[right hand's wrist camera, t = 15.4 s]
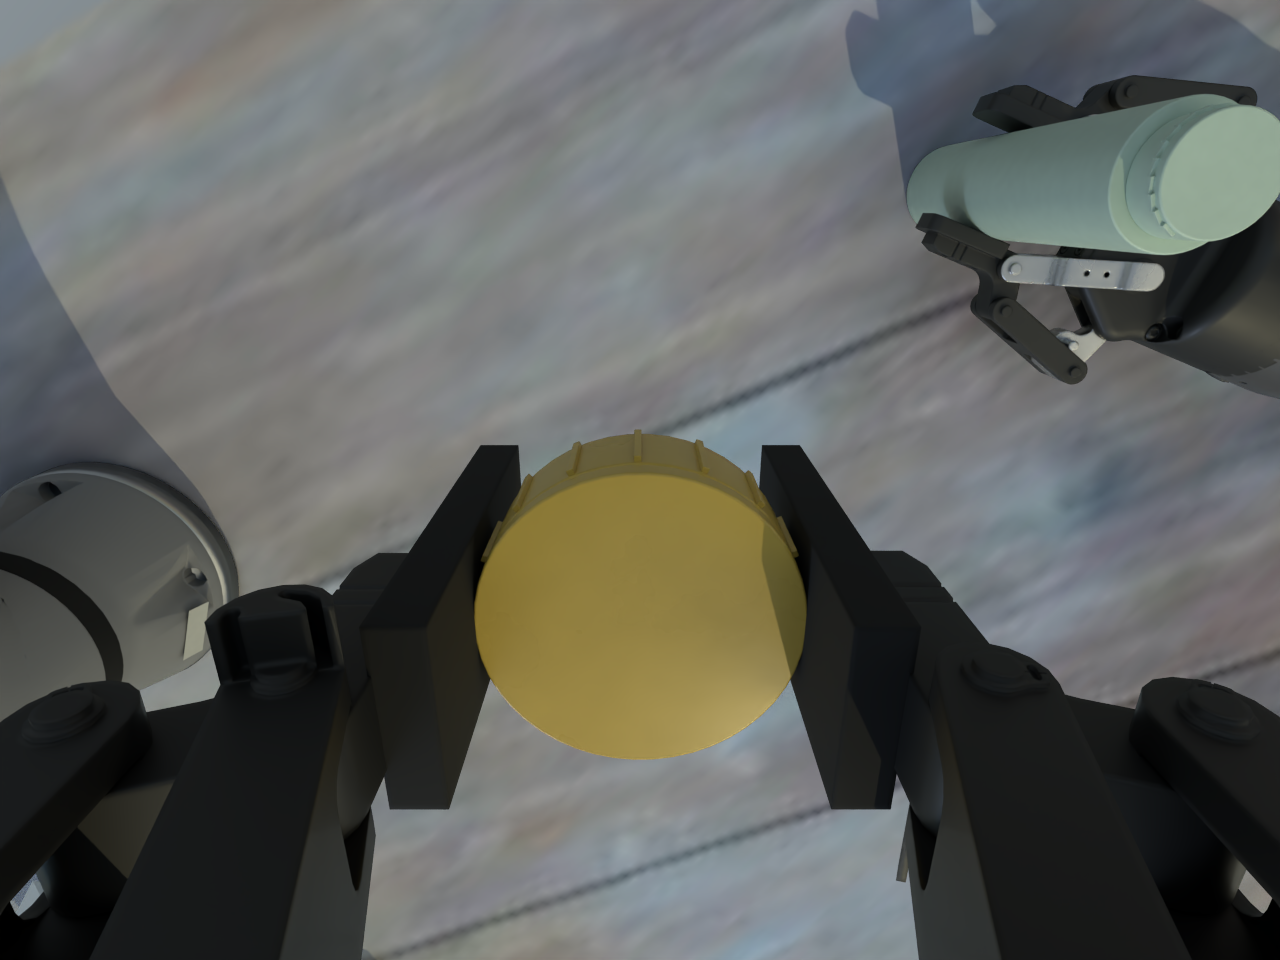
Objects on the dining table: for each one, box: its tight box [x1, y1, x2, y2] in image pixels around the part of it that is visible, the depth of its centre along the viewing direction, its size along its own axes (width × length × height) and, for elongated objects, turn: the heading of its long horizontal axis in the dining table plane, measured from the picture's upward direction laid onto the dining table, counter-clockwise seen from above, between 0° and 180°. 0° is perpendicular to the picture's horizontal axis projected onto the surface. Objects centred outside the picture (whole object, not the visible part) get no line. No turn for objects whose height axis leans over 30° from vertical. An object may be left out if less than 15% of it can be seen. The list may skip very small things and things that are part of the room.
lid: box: [474, 430, 807, 760], centre depth 11 cm, size 5×5×2 cm
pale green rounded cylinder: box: [907, 94, 1280, 255], centre depth 29 cm, size 4×4×20 cm
